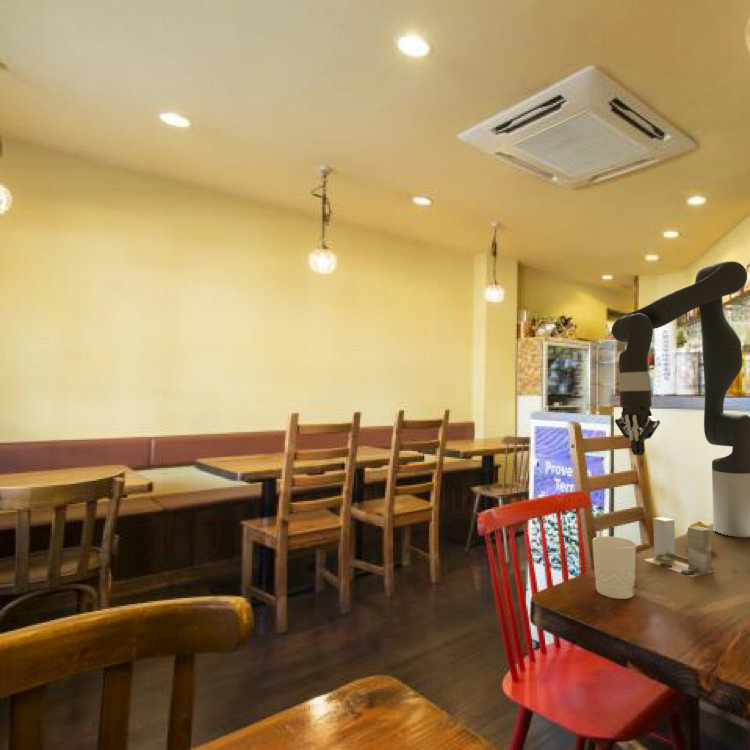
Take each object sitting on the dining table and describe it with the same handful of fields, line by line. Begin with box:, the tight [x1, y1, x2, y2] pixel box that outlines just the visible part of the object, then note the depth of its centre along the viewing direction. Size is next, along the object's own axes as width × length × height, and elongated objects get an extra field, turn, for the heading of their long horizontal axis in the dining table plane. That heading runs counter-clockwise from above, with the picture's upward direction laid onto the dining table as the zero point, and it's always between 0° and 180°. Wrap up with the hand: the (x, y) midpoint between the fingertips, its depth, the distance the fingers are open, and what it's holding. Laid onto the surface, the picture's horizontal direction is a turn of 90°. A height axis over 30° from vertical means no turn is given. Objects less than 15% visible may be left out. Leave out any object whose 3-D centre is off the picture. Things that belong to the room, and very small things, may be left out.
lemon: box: [686, 521, 714, 549], centre depth 125 cm, size 6×6×8 cm
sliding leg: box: [652, 516, 676, 561], centre depth 118 cm, size 5×3×9 cm, turn 114°
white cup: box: [592, 535, 637, 600], centre depth 103 cm, size 8×8×10 cm
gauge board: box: [643, 526, 716, 578], centre depth 114 cm, size 8×12×10 cm, turn 24°
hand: (638, 454), depth 136 cm, fingers closed
